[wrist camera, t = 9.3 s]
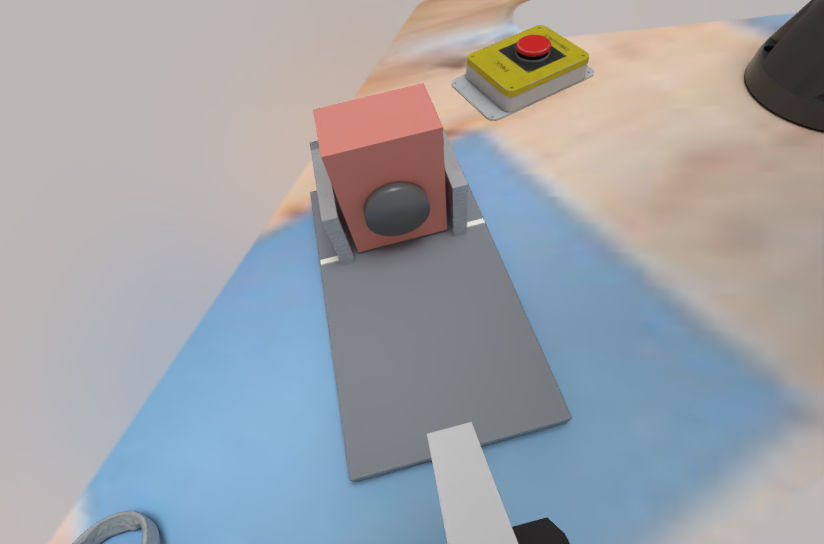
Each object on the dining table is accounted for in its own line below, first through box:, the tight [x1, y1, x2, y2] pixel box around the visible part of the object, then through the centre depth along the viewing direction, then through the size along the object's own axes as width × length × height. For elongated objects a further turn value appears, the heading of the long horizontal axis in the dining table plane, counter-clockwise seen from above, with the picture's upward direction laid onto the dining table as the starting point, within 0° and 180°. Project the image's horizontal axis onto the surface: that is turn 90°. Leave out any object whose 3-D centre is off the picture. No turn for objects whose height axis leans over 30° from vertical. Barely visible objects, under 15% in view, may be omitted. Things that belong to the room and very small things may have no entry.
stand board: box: [310, 164, 572, 482], centre depth 33 cm, size 15×26×2 cm, turn 14°
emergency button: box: [451, 25, 594, 121], centre depth 45 cm, size 9×4×15 cm
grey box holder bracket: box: [310, 129, 468, 265], centre depth 34 cm, size 11×9×6 cm
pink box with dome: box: [313, 83, 447, 253], centre depth 30 cm, size 8×6×11 cm
